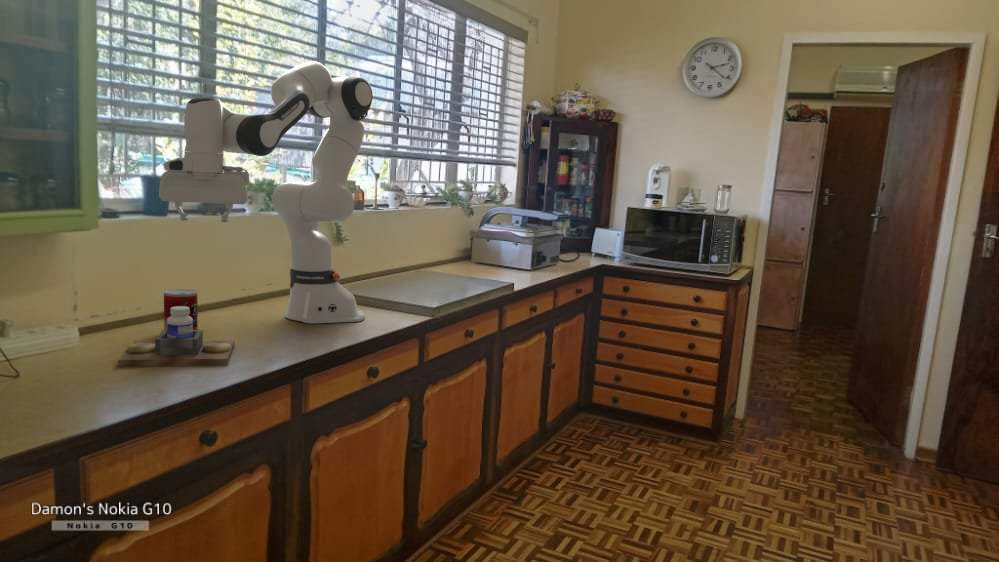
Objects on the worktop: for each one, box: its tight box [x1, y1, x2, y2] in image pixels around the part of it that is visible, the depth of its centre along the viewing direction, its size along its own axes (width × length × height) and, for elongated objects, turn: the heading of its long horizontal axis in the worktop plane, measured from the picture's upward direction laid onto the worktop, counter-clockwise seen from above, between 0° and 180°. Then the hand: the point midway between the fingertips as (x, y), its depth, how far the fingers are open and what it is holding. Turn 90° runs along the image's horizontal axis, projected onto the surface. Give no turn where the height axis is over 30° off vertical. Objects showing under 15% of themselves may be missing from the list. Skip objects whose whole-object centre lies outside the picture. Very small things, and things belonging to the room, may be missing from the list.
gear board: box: [117, 329, 236, 368], centre depth 164 cm, size 22×16×5 cm
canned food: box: [163, 288, 199, 330], centre depth 182 cm, size 8×8×11 cm
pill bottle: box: [167, 306, 193, 338], centre depth 163 cm, size 5×5×10 cm
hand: (204, 221), depth 178 cm, fingers open, 8 cm apart
